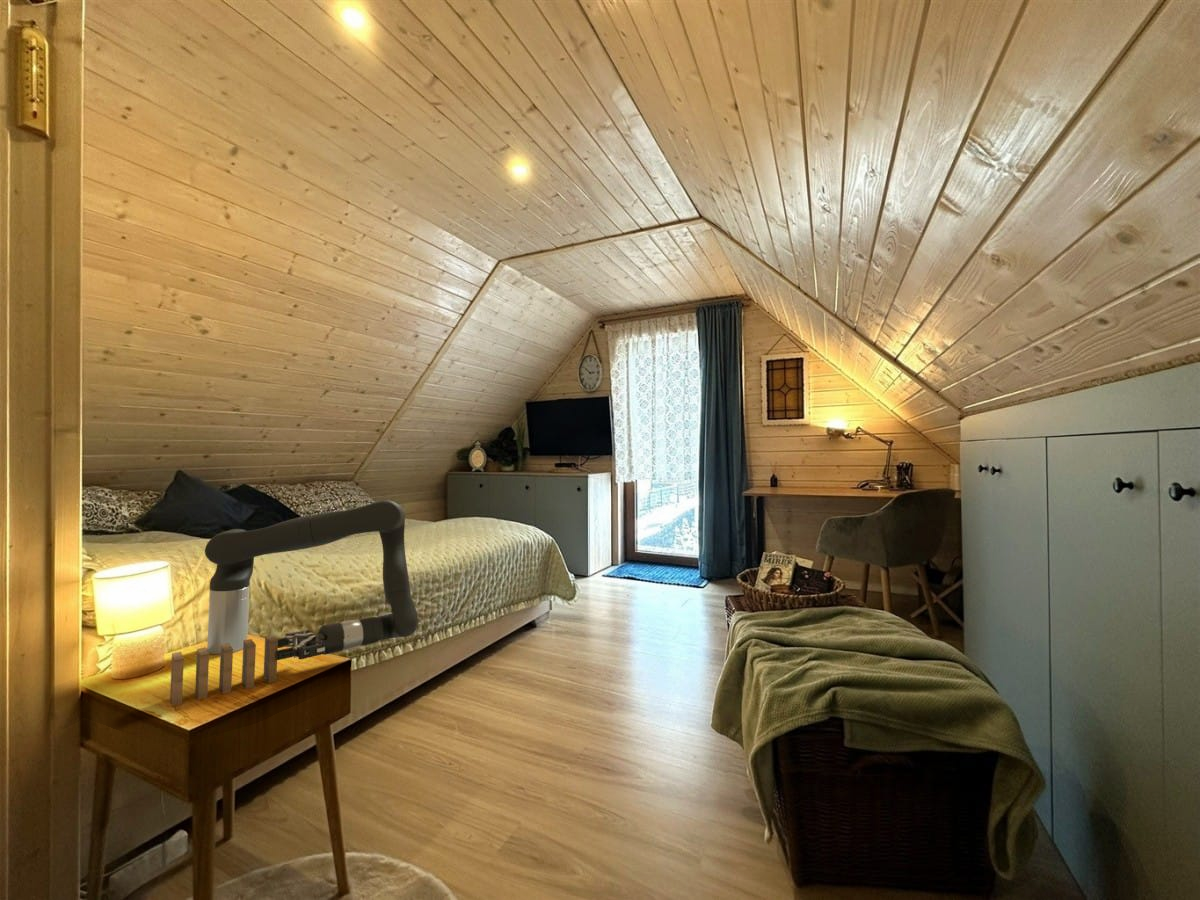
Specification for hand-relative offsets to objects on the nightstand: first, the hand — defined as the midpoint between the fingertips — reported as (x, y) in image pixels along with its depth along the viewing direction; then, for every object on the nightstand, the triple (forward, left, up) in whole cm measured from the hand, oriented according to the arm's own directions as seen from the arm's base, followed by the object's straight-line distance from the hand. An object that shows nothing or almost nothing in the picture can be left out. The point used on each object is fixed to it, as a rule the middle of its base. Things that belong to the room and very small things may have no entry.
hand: (271, 650), depth 129 cm
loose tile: (0, 0, -7) cm, 7 cm away
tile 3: (0, -9, -7) cm, 11 cm away
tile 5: (0, -18, -7) cm, 19 cm away
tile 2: (0, -5, -7) cm, 8 cm away
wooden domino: (0, -14, -7) cm, 15 cm away
